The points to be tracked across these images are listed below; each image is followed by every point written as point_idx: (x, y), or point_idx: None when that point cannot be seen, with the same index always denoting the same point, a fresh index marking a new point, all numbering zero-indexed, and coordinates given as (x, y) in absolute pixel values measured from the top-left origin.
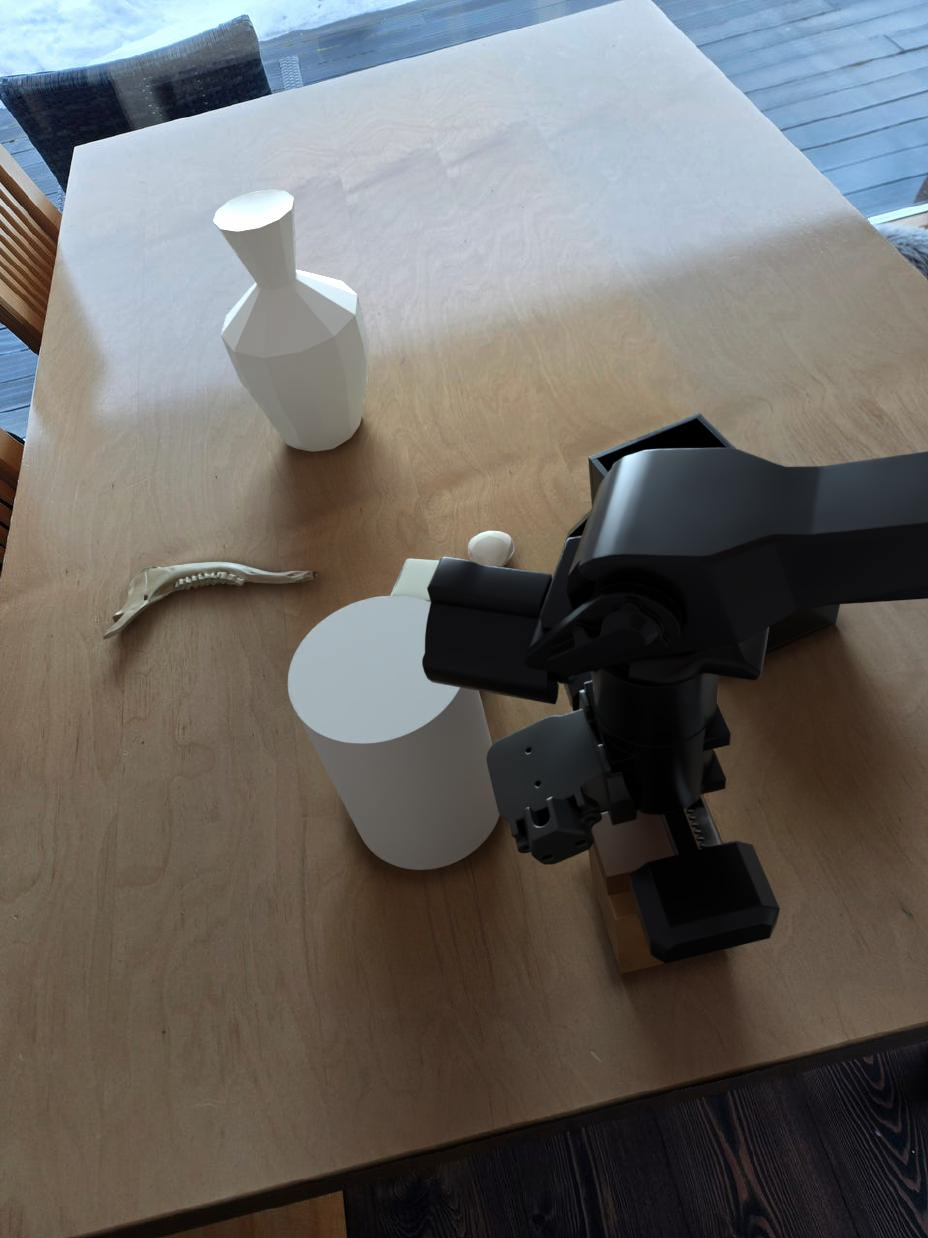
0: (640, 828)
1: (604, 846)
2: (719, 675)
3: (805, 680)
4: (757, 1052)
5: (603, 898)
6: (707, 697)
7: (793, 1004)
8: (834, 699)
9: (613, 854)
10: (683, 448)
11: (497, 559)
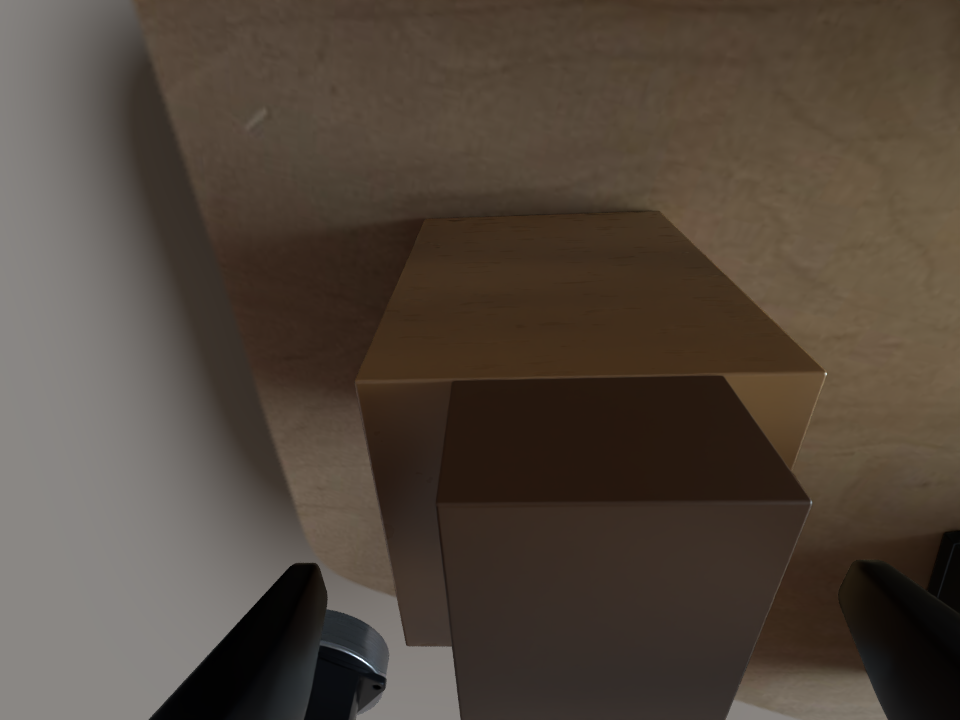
0: (635, 651)
1: (606, 533)
2: (942, 539)
3: (840, 622)
4: (271, 402)
5: (541, 276)
6: None
7: (343, 465)
8: (785, 638)
9: (550, 555)
10: None
11: None
